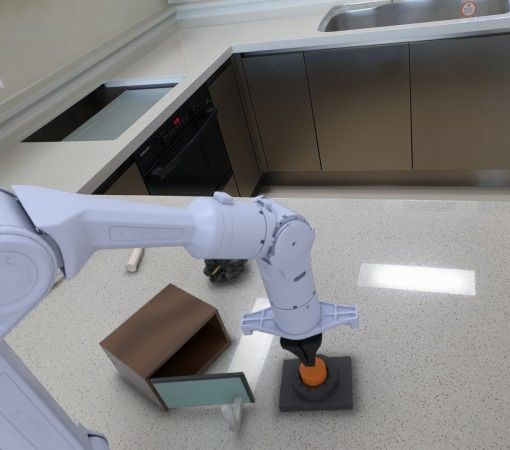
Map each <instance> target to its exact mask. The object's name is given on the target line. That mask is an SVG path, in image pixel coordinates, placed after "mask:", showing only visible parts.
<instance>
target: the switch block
mask: <svg viewBox="0 0 510 450" xmlns="http://www.w3.org/2000/svg"><path fill="white" fill-rule="evenodd" d="M316 357H318V358H320V359H321V360H323V362H324V363H325V366H326V371H327V377H326V379H325V381H324V382H323V383H322V384H320V385H318V386H308V385H306V384H305V383H304V382H303V380H302V377H301V374H300V365H301V363H302V362H301V361H300V359H299V358H289V359H288V358H287V359H286V358H285V359H283V362H282V363H283V364H282V373H281V380H280V391H279V401H278V409H279V411H280V412H306V411H308V412H309V411H310V412H311V411H332V410H333V411H335V410H353V409H354V405H353V404H354V403H353V368H352V363H353V362H352V356H351V355H344V356H327V355H325V354H323V353H316Z"/></svg>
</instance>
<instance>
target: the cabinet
mask: <svg viewBox="0 0 510 450" xmlns="http://www.w3.org/2000/svg"><path fill="white" fill-rule="evenodd" d="M232 344H233V342H232V340H231V337H230V335H229V333H228V330H227V328H226V326H225V323H224V321H223V318H222V317H221V314H220V312H219V309H218V308H217V307H215V306H213V305H211V304H210V303H208V302H206V301H204V300H203V299H200V298H199V297H197V296H195V295H193V294H192V293H189V292H188V291H186V290H184V289H182V288H180V287H179V286H177V285H175V284H173V283H168V284H167V285H166V286H165V287H164V288H162V289H161V290H160V291H159V292H157V294H155V295H154V296H153V297H152V298H151V299H149V300H148V301H147V302H146V303H144V304H143V305H142V306H141V307H139V309H138V310H136V311H135V312H134V313H133V314H131V316H129V317H128V318H127V319H126V320H124V321H123V322H122V323H121V324H120V325H118V327H116V328H115V329H113V331H112V332H110V333H109V334H108V335H107V336H106V337H104V338H103V339H102V340H101V341H100V342H99V343H98V345H99V346H100V348H101V349H102V351H103V352H104V353H105V355H106V356H107V358H108V359H109V360H110V362H111V363H112V365H113V366H114V367H115V368H116V370H117V372H118V373H119V374H120V375H121V377H122V378H123V379H124V380H126V381H127V382H128V383H129V384H131V385H132V386H133V387H134V388H136V389H137V390H138V391H139V392H141V393H142V394H143V395H145V397H147V398H148V399H150V400H151V401H152V402H153V403H154V404H155V405H157V406H158V407H159V408H160V409H162V410H163V411H164V412H167V411H169V409H170V408H168V407H167V405H166V404H165V402H164V401H163V399H162V397H161V396H160V394H159V393H158V391H157V390H156V388H155V387H154V385H153V384H152V383H151V379H152V378H164V377H178V376H191V375H204V373H205V372H206V371H207V370H208V369H209V368H210V367H211V366H212V365H213V363H215V362H216V360H218V358H219V357H220V356H221V355H222V354H223V353H224V352H225V351H226V350H227V349H228V348H229V347H230V346H231V345H232Z"/></svg>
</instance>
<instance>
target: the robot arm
mask: <svg viewBox="0 0 510 450" xmlns="http://www.w3.org/2000/svg"><path fill="white" fill-rule="evenodd" d="M10 188H11V189H12V191H13V192H12V191H11V190H9V189H7V188H5V187H3V186H0V450H111V448H110V444H109V440H108V438H107V436H106V435H105V434H103V433H102V432H100V431H96V430H91V429H88V428H86V427H85V426H84V425H83V424H82V422H80V421H76V422H74V420H73V419H72V418H71V417H70V416H69V414H68V413H67V412H66V411H65V409H63V407H62V406H61V405H60V404H59V403H58V402H57V400H56V399H55V398H54V397H53V396H52V394H51V393H50V392H49V390H48V389H46V388H45V386H44V385H43V383H42V382H41V381H40V380H39V379H38V378H37V376H36V375H35V374H34V373H33V372H32V370H31V369H30V368H29V367H28V366H27V365H26V364H25V362H24V361H23V359H21V357H20V356H19V355H18V354H17V353H16V351H15V350H14V349H13V348H12V347H11V345H10V344H9V343H8V342H7V341H6V340H5V338H6V337H8V335H9V334H11V332H12V331H13V330H15V328H17V326H18V325H19V324H20V323H21V322H23V320H24V319H26V318H27V316H29V314H30V313H32V312H33V311H34V309H35V308H37V306H39V304H41V303H42V302H43V301H44V299H45V298H46V297H47V296H48V294H49V293H50V292H51V290H52V289H53V287H54V286H55V284H54V283H55V280H56V277H57V276H58V270H60V271H61V274H63V275H64V276H65V277H64V278H65V280H66V282H69V281H71V280H73V279H74V278H75V277H76V276H77V275H78V273H80V271H81V270H82V269H83V267H85V265H86V264H87V262H88V261H89V260H90V259H91V258H92V256H94V254H95V253H96V252H97V251H104V250H105V251H106V250H124V249H125V250H126V249H134V248H143V249H149V248H151V249H152V248H171V247H183V248H184V249H185V251H186V252H187V253H188V254H189V255H190V256H191V257H192V258H194V259H196V260H205V259H248V260H256V264H257V268H258V271H259V273H260V277H261V280H262V284H263V287H264V289H265V292H266V296H267V299H268V302H269V305H270V306H268V307H266V308H262V309H260V310H256V311H253V312H249V313H243V314H242V316H241V321H240V328H241V331H242V334H243V335H244V336H251V335H253V333H254V332H260V333H264V334H268V335H272V336H276V337H279V344H280V345H279V346H280V347H281V349H282V350H285V351H287V352H290V353H291V354H293V355H294V356H295V357H296V358H297V359H300V361H301V362H302V363H303V364H304V366H305V367H315V363H316V354H318V351H319V349H320V347H321V346H322V344H323V343H322V342H323V333H324V332H325V333H326V332H327V331H330V330H332V329H336V328H338V327H341V326H349V328H350V329H353V330H354V329H360V315H359V310H358V305H344V304H338V303H335V302H329V301H324V300H319V296H318V291H317V287H316V281H315V277H314V274H313V269H312V265H311V263H312V262H313V261H312V256H311V251H312V248H313V246H314V243H315V238H316V228H315V227H312V226H310V223H309V220H308V219H306V217H304V216H303V215H301V214H300V213H298V212H297V211H295V210H293V209H291V208H290V207H288V206H286V205H284V204H283V203H281V202H279V201H278V200H275V199H274V198H270V197H268V196H266V195H264V194H261V195H258V196H255V197H253V198H252V199H250V200H249V201H247V200H238V199H234V197H233V196H231V195H229V194H228V193H227V192H224V191H214V193H213V196H212V197H208V196H197V197H195V198H194V199H192V200H191V201H190V202H189V203H187V205H186V206H185V207H178V206H171V205H164V204H157V203H149V202H141V201H136V200H135V201H134V200H128V199H121V198H112V197H106V196H99V195H98V196H97V195H90V194H84V193H76V192H70V191H64V190H61V189H55V188H54V189H53V188H49V187H43V186H39V185H33V184H11V185H10Z"/></svg>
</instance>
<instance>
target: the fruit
mask: <svg viewBox="0 0 510 450" xmlns="http://www.w3.org/2000/svg"><path fill="white" fill-rule="evenodd" d="M248 260H249V259H203V262H204V265H205V266H204V268H203V270H202V272H203V274H204V275H205V276H206V277H209V281H210V282H211V284H218V283H220V281H221V280H224V281H230V282H235V281H237V280H238V278H239V274H238V273H243V272H244V271H245V269H246V268H245V267H246V266H245V264H246V263H247V262H248Z"/></svg>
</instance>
